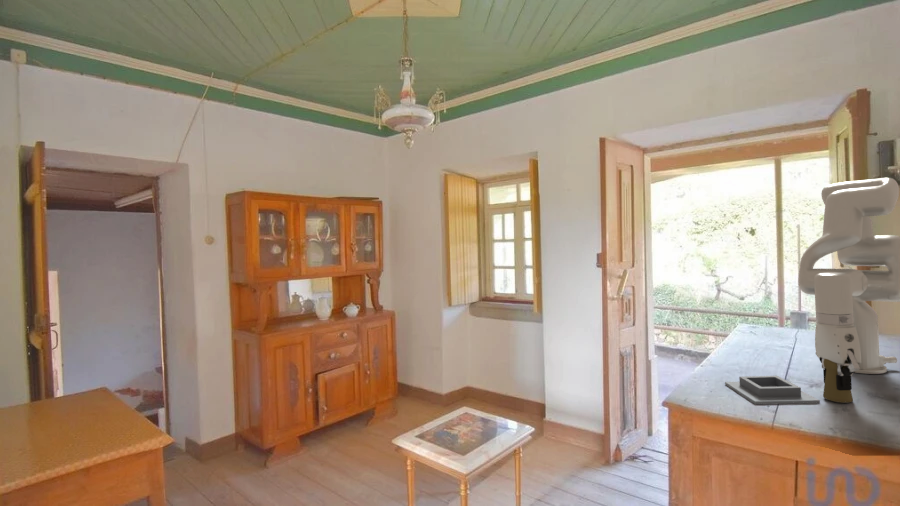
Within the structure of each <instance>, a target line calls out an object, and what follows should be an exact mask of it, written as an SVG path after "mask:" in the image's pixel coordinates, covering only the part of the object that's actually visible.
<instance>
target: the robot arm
mask: <svg viewBox="0 0 900 506" xmlns="http://www.w3.org/2000/svg"><path fill="white" fill-rule="evenodd" d="M820 194H821V199H822V202H823V204H824V214H823V226H822V235H821V237H820V238H818V239H816V240H815V241H814V242H812V243H811V245H809V246H808V248H807V249H806V250H805V251H804V253H803V254H802V256H801V258H800V262H799V270H798V277H797V278H798V287H799V290H800V291H801V292H802V293H804V294H807V295H810V296H811V295H813V296H814V304H815V305H814V307H815V308H814V309H815V323H816V324H815V333H814V348H815V349H814V350H815V356H816V357H817V358H818V359H819V361H820V363H821V369H823V384H825V377H826V368H825V367H824V363H823V361H824V359H828V360H830V361H832V362H834V363H836V365H837V371H838V375H836V384H837V390H851V391H852V388H853V387H852V376H853V374H854V373H856V374H864V375H867V374H868V375H869V374H870V375H879V374H885V373H887V371H888V368H887V366H885V365H887V364H897V363H898V358H897V357H895V356H886V355H885V356H884V355H881V354H880V340H879V339H880V338H879V336H880V335H879V333H880V332H879V317H878V316H879V315H878V314H877V313H878V312H877V311H876V310H875V309H874V308H873V307H872V306H871V305H869V303H868V302H893V303H898V302H899V303H900V235H897V234H896V235H894V234H883V235H881V234H880V235H876V234H875V235H874V232H873V220H872V218H871V217H879V216H880V217H881V216H888V215H890V214H891V213H892V212H893V211H894V209H895V207H896V204H897V202H898V200H899V196H900V187H899V184H898V182H897V181H896V179H894V178H892V177H879V178H878V177H877V178H871V179H861V180H851V181H843V182H835V183H832V184H827V185H826V186H825V187H823V189H822V190H821V193H820ZM833 253H837V254H836V255H837V259H838V261H839V263H841V265H845V266H851V267H885V268H887V270H870V269H869V270H868V269H866V270H865V269H863V270H862V269H860V270H859V269H854V268H814V266H815V264H816V263H817V262H818V261H819V260H820V259H821V258H823V257H825V256H827V255H830V254H833ZM845 361H846V363H845ZM842 366H847V367H845V368H844V369H843V368H842Z"/></svg>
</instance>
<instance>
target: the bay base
mask: <svg viewBox="0 0 900 506" xmlns="http://www.w3.org/2000/svg"><path fill="white" fill-rule="evenodd" d="M738 379H739V381H725V382H724V385H725V386H726V387H728V388H730V389H731V390H733V391H734V392H736V393H738V395H740V396H741V397H743V398H745V399H746V400H748V401H749V402H751V403H752V404H753V405H791V404H792V405H794V404H795V405H797V404H798V405H799V404H800V405H801V404H802V405H803V404H804V405H805V404H806V405H807V404H820V403H821V402H820V401H821V400H820V399H818V398H816V397H815V396H812V395H810V394H808V393H807V392H804V391H802V389H801V386H799V385H797V384H794V383H793V382H790V381H789V380H786V379H784V378H782V377H781V376H778V375H751V376H750V375H749V376H747V375H746V376H745V375H744V376H739V378H738Z"/></svg>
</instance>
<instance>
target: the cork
mask: <svg viewBox="0 0 900 506" xmlns="http://www.w3.org/2000/svg"><path fill="white" fill-rule="evenodd" d="M823 363H824V367H825V368H826V377H825V383H824V387H823V394H822V397H823V398H824V399H825V400H827V401H831V402H835V403H853V402H854V400H853V398H854V397H853V393H852V389H851V390H837V384H836V375H838V371H837V365H836V363H834V362H832V361H830V360H828V359H824V361H823ZM845 363H846V361H845ZM845 367H847V366H842V368H843V369H844V368H845Z"/></svg>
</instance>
